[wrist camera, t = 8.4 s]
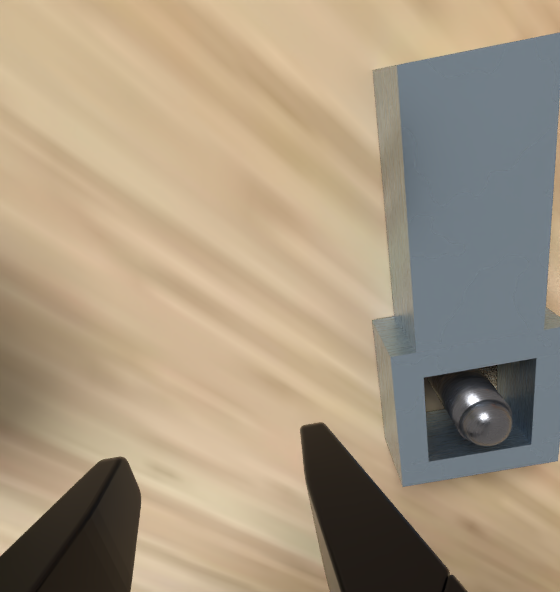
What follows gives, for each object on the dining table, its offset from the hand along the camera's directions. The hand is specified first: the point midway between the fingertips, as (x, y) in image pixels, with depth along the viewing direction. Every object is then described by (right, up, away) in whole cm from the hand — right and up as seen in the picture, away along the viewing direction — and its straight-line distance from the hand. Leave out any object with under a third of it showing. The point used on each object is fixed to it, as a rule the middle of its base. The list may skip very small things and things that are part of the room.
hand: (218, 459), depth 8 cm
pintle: (+8, 0, +11) cm, 14 cm away
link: (+8, +4, +10) cm, 13 cm away
